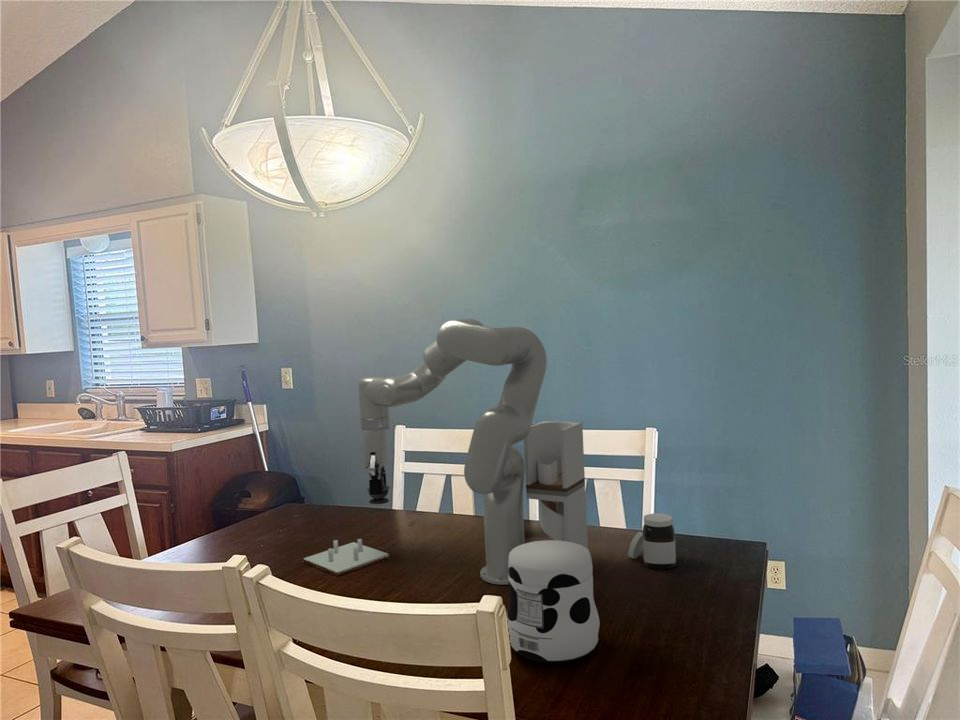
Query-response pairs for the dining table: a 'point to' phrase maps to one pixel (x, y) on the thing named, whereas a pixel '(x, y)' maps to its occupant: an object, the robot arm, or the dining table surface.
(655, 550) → the spread jar
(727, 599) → the dining table surface
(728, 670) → the dining table surface
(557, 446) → the open shelf unit
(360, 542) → the pin tray
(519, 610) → the milk container
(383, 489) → the salt shaker
